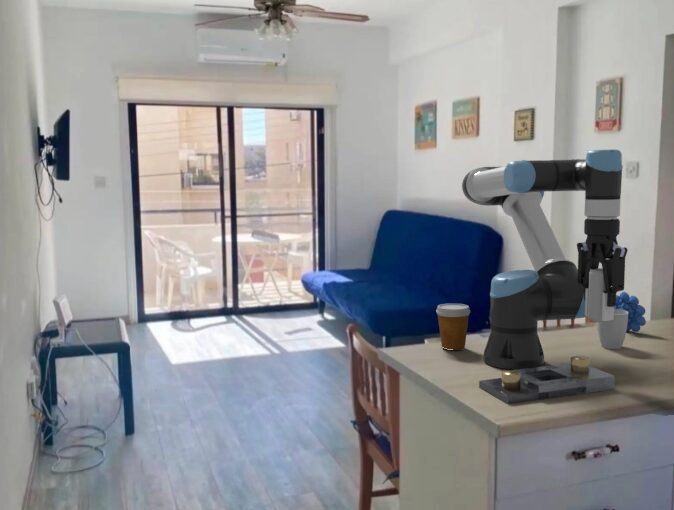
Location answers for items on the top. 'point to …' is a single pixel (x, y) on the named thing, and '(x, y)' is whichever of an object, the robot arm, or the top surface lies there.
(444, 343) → the disposable coffee cup
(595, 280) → the beverage can
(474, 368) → the top surface
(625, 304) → the grapes
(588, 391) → the marble inkwell stand
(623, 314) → the cup
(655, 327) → the top surface
